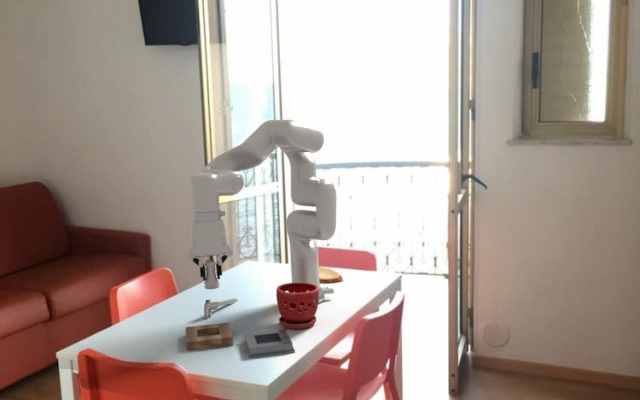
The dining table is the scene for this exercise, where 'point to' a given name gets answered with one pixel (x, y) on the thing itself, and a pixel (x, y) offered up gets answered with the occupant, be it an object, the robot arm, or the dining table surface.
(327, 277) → the golden brown flat disc
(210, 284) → the rook chess piece
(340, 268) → the dining table surface
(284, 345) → the holder
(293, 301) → the plant pot
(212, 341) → the socket block
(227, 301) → the caliper
